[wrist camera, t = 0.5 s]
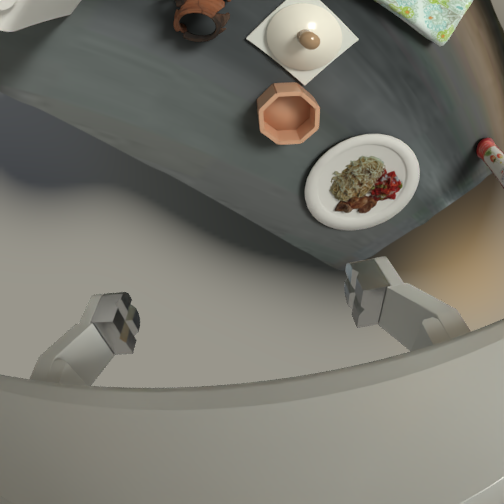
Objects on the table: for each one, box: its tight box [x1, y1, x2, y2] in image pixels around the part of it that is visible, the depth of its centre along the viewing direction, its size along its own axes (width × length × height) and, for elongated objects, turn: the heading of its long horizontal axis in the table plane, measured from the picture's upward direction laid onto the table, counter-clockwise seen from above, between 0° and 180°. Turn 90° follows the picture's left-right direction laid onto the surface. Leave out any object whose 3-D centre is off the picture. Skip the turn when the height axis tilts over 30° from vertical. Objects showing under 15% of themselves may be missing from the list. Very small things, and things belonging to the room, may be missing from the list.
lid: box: [266, 3, 342, 70], centre depth 39 cm, size 13×13×5 cm
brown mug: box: [173, 0, 231, 42], centre depth 34 cm, size 12×10×8 cm
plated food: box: [305, 134, 420, 230], centre depth 67 cm, size 30×30×3 cm
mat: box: [246, 0, 359, 85], centre depth 41 cm, size 14×14×1 cm
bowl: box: [257, 82, 320, 145], centre depth 51 cm, size 11×11×5 cm
